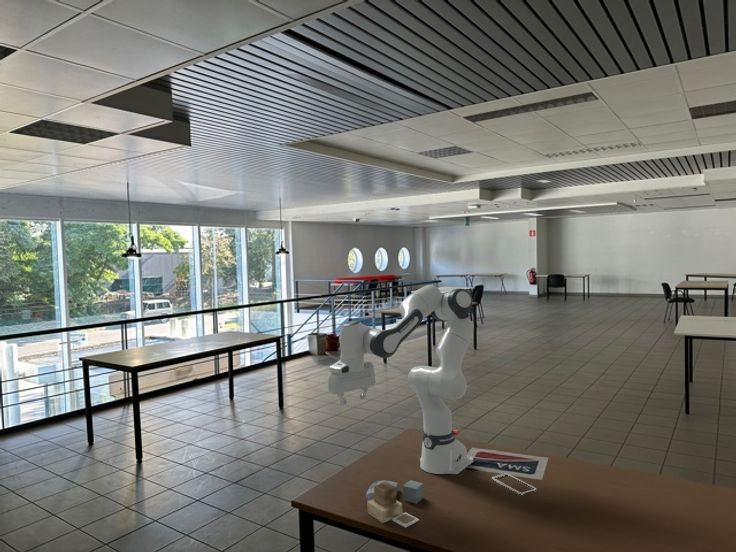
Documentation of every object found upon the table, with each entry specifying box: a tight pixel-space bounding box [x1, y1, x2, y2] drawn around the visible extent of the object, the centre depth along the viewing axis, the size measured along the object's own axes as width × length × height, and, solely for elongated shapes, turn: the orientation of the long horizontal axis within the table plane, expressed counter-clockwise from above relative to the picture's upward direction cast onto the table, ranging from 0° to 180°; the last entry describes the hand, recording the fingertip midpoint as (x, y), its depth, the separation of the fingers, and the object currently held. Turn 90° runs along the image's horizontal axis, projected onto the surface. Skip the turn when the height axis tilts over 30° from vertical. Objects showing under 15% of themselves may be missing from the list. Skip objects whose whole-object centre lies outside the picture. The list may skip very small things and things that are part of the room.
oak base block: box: [366, 499, 403, 524], centre depth 157 cm, size 8×8×4 cm
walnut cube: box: [374, 482, 397, 507], centre depth 157 cm, size 5×5×5 cm
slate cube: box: [402, 479, 424, 505], centre depth 166 cm, size 5×5×5 cm
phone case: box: [491, 473, 537, 496], centre depth 174 cm, size 7×1×15 cm
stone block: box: [365, 479, 400, 502], centre depth 169 cm, size 12×5×10 cm
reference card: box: [391, 511, 420, 528], centre depth 152 cm, size 6×6×1 cm
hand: (353, 401), depth 182 cm, fingers open, 8 cm apart
